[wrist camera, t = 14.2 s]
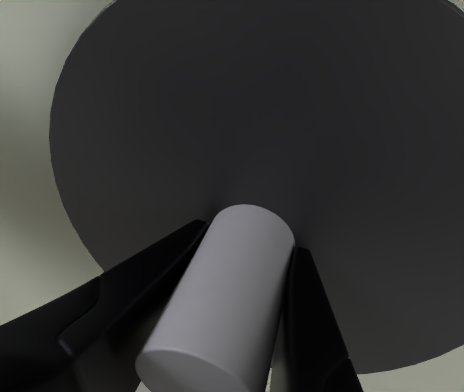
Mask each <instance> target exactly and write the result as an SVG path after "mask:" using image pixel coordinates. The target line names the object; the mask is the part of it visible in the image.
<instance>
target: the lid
mask: <svg viewBox="0 0 464 392" xmlns="http://www.w3.org/2000/svg"><path fill="white" fill-rule="evenodd" d="M49 141H50V153H51V163H52V167H53V172H54V177H55V181H56V185H57V188H58V191H59V194H60V197H61V200H62V203H63V206H64V208H65V210H66V212H67V214H68V216H69V219H70V221H71V223H72V225H73V227H74V228H75V230H76V232H77V234H78V235H79V237H80V239H81V240H82V242H83V244H84V245H85V247H86V248H87V249H88V251H89V252H90V254H91V255H92V257H93V258H94V259H95V261H96V262H97V263H98V264H99V265H100V267H101V268H102V269H103V270H104V271H105V272H106V271H108V270H109V269H111V268H113V267H114V266H116V265H118V264H120V263H121V262H123V261H125V260H126V259H128V258H130V257H132V256H133V255H135V254H137V253H138V252H140V251H142V250H143V249H145V248H147V247H149V246H150V245H152V244H154V243H155V242H157V241H159V240H161V239H162V238H164V237H166V236H167V235H169V234H171V233H173V232H174V231H176V230H178V229H179V228H181V227H183V226H185V225H186V224H188V223H190V222H191V221H193V220H195V219H200V220H203V221H207V222H208V223H209V229H208V231H207V232H206V234H205V236H204V238H203V239H202V241H201V243H200V245H199V247H198V248H197V250H196V252H195V254H194V255H193V257H192V259H191V261H190V262H189V264H188V266H187V268H186V270H185V271H184V273H183V275H182V277H181V278H180V280H179V282H178V284H177V285H176V287H175V289H174V291H173V293H172V294H171V296H170V298H169V300H168V301H167V303H166V305H165V307H164V308H163V310H162V312H161V314H160V316H159V317H158V319H157V321H156V323H155V324H154V326H153V328H152V330H151V331H150V333H149V335H148V337H147V339H146V340H145V342H144V344H143V346H142V347H141V349H140V351H139V353H138V354H137V356H136V359H135V369H136V372H137V374H138V376H139V378H140V379H141V381H142V382H143V383H144V385H145V386H146V387H147V388H148V389H149V390H150V391H151V392H265V390H266V385H267V380H268V375H269V371H270V368H272V365H273V355H274V347H275V342H276V337H277V332H278V328H279V323H280V318H281V313H282V309H283V304H284V299H285V292H286V286H287V281H288V276H289V272H290V267H291V262H292V257H293V253H294V249H295V247H296V246H299V247H303V248H306V249H309V250H310V252H311V254H312V257H313V259H314V262H315V265H316V267H317V270H318V273H319V275H320V278H321V281H322V283H323V286H324V289H325V292H326V294H327V297H328V300H329V302H330V305H331V308H332V310H333V313H334V316H335V318H336V321H337V324H338V326H339V329H340V332H341V334H342V337H343V340H344V342H345V345H346V348H347V351H348V353H349V356H350V357H349V359H351V361H352V364H353V366H354V369H355V372H356V374H368V373H375V372H382V371H390V370H394V369H398V368H402V367H407V366H411V365H415V364H418V363H421V362H424V361H427V360H429V359H432V358H435V357H438V356H441V355H443V354H445V353H447V352H449V351H451V350H453V349H455V348H457V347H460V346H462V345H464V12H463V11H462V10H461V9H460V8H458V7H457V6H456V5H455V4H453V3H452V2H450V1H448V0H114V1H113V2H111V3H110V4H109V5H108V6H106V7H105V8H104V9H103V10H102V11H101V12H100V13H99V14H98V16H97V17H96V18H95V19H94V20H93V21H92V23H91V24H90V25H89V26H88V27H87V28H86V29H85V31H84V32H83V33H82V34H81V36H80V37H79V39H78V41H77V43H76V44H75V46H74V48H73V49H72V51H71V53H70V54H69V56H68V58H67V59H66V61H65V64H64V66H63V69H62V72H61V74H60V77H59V79H58V82H57V85H56V88H55V93H54V98H53V102H52V107H51V112H50V130H49Z"/></svg>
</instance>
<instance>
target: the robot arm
mask: <svg viewBox="0 0 464 392" xmlns="http://www.w3.org/2000/svg"><path fill="white" fill-rule="evenodd" d="M208 229H209V223H208V222H207V221H203V220H200V219H195V220H193V221H191V222H190V223H188V224H186V225H185V226H183V227H181V228H179V229H178V230H176V231H174V232H173V233H171V234H169V235H167V236H166V237H164V238H162V239H161V240H159V241H157V242H155V243H154V244H152V245H150V246H149V247H147V248H145V249H143V250H142V251H140V252H138V253H137V254H135V255H133V256H132V257H130V258H128V259H126V260H125V261H123V262H121V263H120V264H118V265H116V266H114V267H113V268H111V269H109V270H108V271H106V272H104V273H102V274H101V275H100V276H97V277H95V278H94V279H92V280H90V281H89V282H87V283H85V284H83V285H81V286H80V287H78V288H76V289H74V290H72V291H71V292H69V293H67V294H65V295H63V296H61V297H59V298H57V299H55V300H53V301H51V302H49V303H47V304H45V305H43V306H41V307H39V308H37V309H35V310H32V311H30V312H28V313H26V314H24V315H22V316H20V317H18V318H16V319H14V320H11V321H9V322H7V323H5V324H3V325H1V326H0V392H135V391H136V389H137V387H138V386H139V384H140V382H141V379H140V378H139V376H138V374H137V372H136V369H135V359H136V356H137V354H138V353H139V351H140V349H141V347H142V346H143V344H144V342H145V340H146V339H147V337H148V335H149V333H150V331H151V330H152V328H153V326H154V324H155V323H156V321H157V319H158V317H159V316H160V314H161V312H162V310H163V308H164V307H165V305H166V303H167V301H168V300H169V298H170V296H171V294H172V293H173V291H174V289H175V287H176V285H177V284H178V282H179V280H180V278H181V277H182V275H183V273H184V271H185V270H186V268H187V266H188V264H189V262H190V261H191V259H192V257H193V255H194V254H195V252H196V250H197V248H198V247H199V245H200V243H201V241H202V239H203V238H204V236H205V234H206V232H207V231H208ZM349 357H350V356H349V353H348V351H347V348H346V345H345V342H344V340H343V337H342V334H341V332H340V329H339V326H338V324H337V321H336V318H335V316H334V313H333V310H332V308H331V305H330V302H329V300H328V297H327V294H326V292H325V289H324V286H323V283H322V281H321V278H320V275H319V273H318V270H317V267H316V265H315V262H314V259H313V257H312V254H311V252H310V250H309V249H306V248H303V247H299V246H296V247H295V249H294V253H293V257H292V262H291V267H290V272H289V276H288V281H287V286H286V292H285V299H284V304H283V309H282V313H281V318H280V323H279V328H278V332H277V337H276V342H275V347H274V355H273V365H272V374H271V384H270V392H363V389H362V387H361V384H360V382H359V379H358V377H357V374H356V372H355V369H354V366H353V364H352V361H351V359H349Z"/></svg>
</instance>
